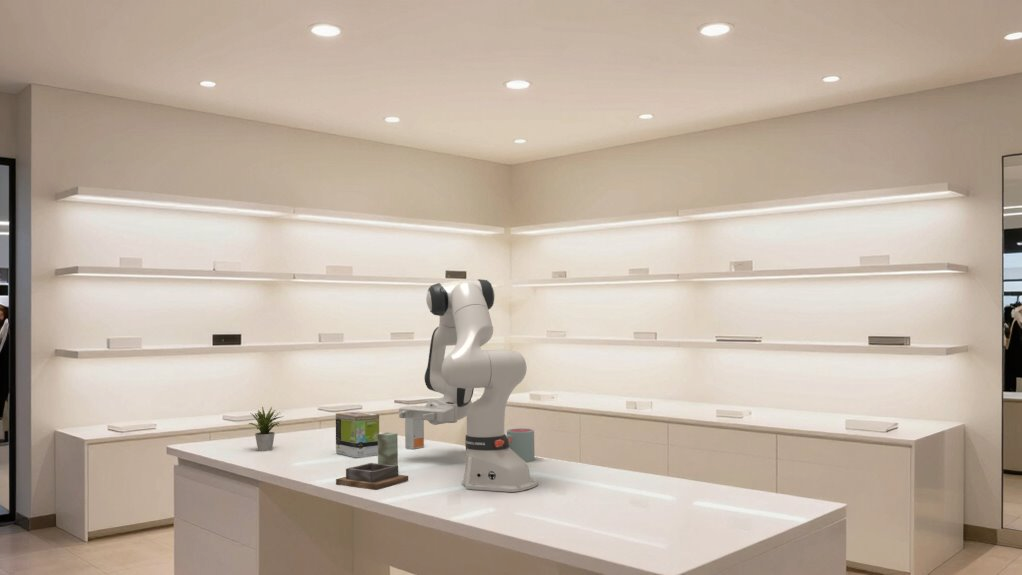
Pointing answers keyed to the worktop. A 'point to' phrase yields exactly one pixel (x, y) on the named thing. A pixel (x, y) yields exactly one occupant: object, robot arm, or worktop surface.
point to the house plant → (265, 430)
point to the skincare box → (414, 433)
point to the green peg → (388, 449)
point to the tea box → (357, 434)
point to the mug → (522, 443)
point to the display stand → (372, 476)
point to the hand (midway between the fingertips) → (411, 416)
